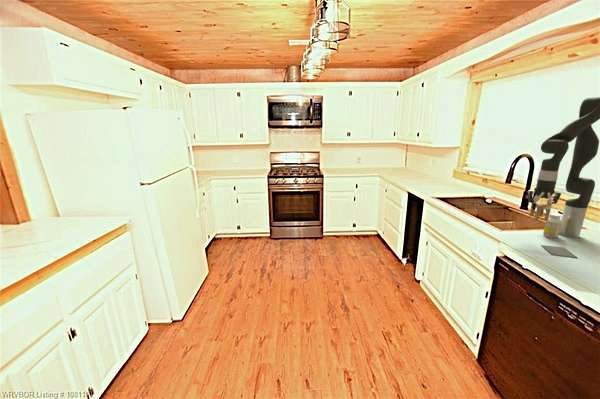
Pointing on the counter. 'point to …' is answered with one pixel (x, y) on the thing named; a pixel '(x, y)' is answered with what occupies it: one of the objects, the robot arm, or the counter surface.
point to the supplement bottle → (552, 226)
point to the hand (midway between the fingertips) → (540, 210)
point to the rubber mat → (558, 251)
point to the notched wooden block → (541, 210)
